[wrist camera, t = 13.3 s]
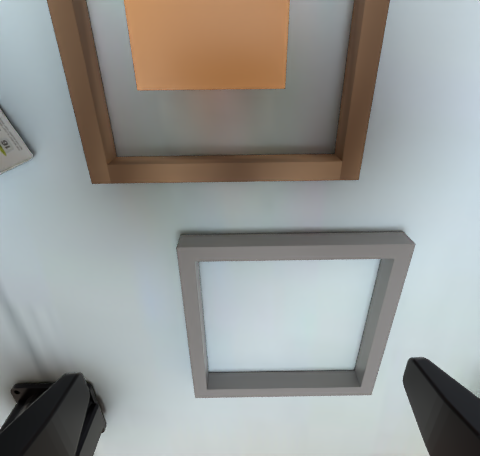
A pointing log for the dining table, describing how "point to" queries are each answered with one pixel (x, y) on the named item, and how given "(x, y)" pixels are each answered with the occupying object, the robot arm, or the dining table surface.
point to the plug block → (208, 43)
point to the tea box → (11, 146)
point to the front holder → (218, 166)
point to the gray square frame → (295, 248)
